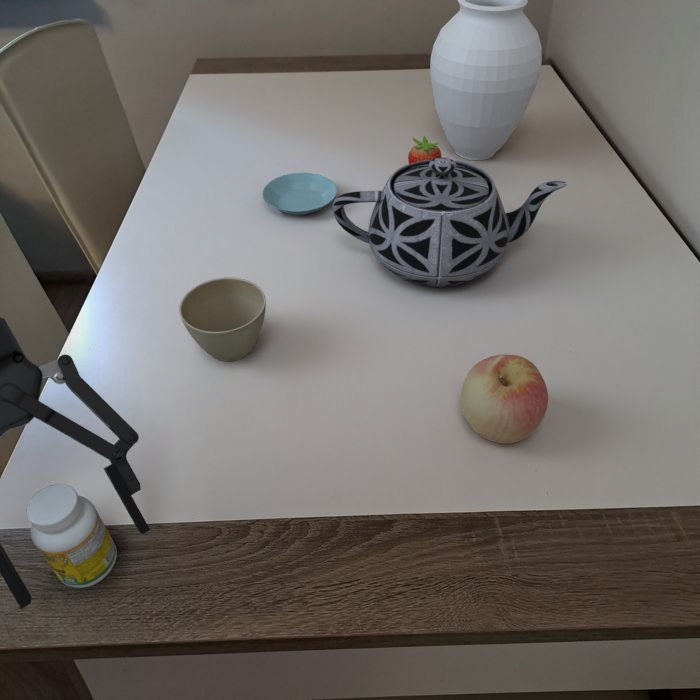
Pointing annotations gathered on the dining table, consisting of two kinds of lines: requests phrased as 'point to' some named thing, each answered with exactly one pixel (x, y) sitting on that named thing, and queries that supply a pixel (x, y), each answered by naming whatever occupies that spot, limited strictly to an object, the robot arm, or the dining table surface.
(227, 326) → the bowl
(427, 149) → the fruit
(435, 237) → the teapot
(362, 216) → the dining table surface
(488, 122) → the vase
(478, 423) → the apple
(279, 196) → the saucer
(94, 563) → the supplement bottle
